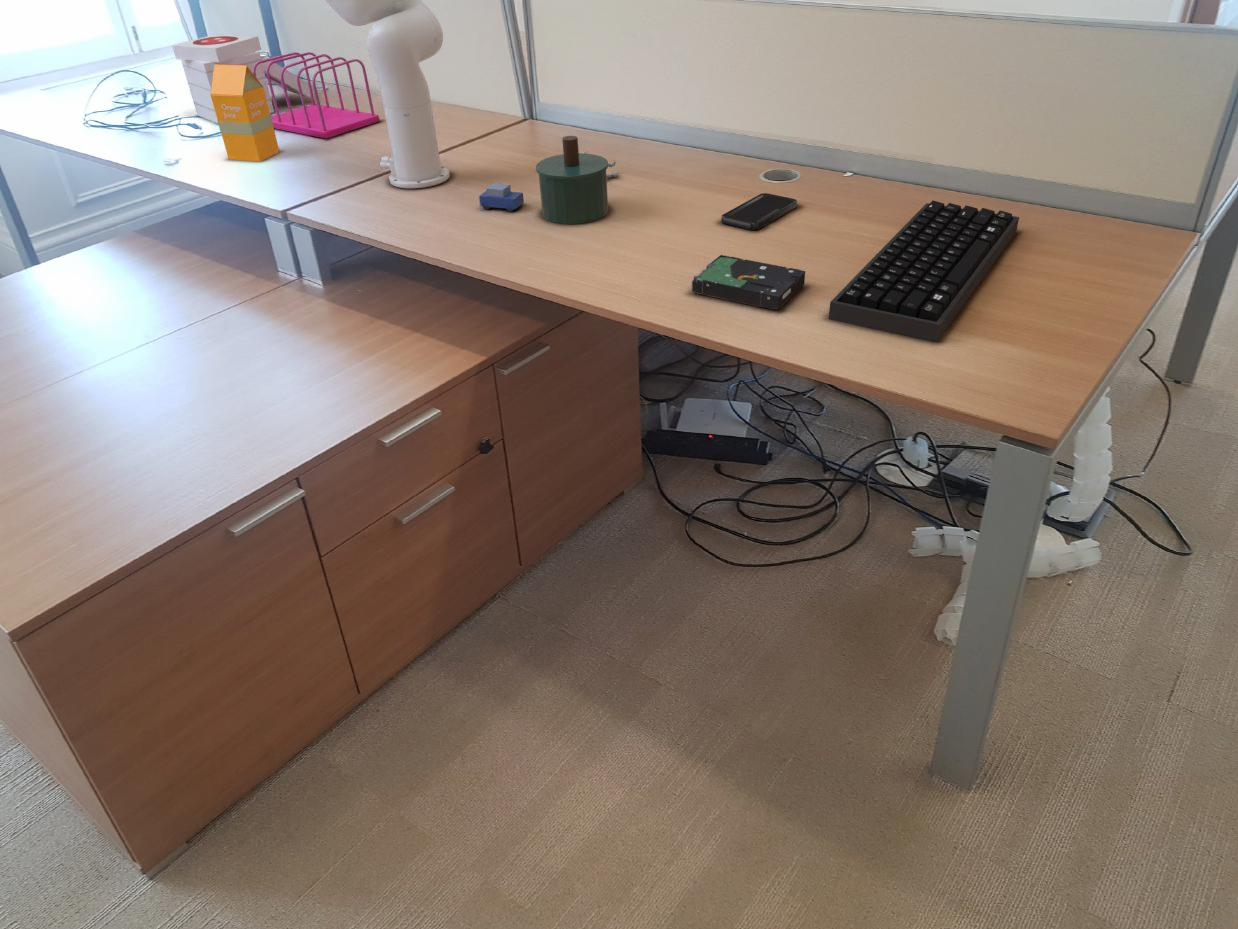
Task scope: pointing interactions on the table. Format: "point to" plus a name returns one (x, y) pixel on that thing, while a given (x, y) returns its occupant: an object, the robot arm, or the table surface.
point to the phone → (759, 211)
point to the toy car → (501, 197)
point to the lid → (571, 163)
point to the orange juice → (242, 113)
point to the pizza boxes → (228, 50)
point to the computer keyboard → (926, 271)
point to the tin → (574, 199)
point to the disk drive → (749, 282)
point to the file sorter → (318, 116)
